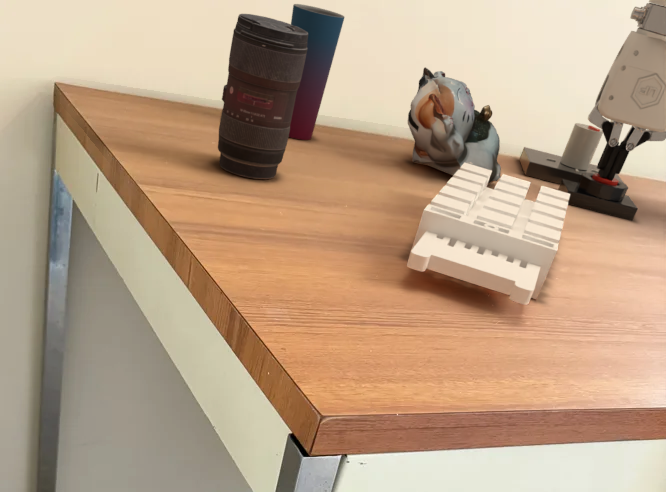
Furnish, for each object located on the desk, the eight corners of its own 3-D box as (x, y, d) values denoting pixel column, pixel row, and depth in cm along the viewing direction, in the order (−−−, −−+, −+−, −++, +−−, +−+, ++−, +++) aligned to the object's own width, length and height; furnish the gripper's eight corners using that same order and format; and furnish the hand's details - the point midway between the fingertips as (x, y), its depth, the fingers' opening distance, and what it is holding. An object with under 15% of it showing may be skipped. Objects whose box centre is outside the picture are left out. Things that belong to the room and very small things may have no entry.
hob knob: (554, 159, 129) (570, 119, 125) (576, 162, 131) (592, 123, 127) (570, 168, 126) (587, 127, 122) (593, 171, 127) (610, 131, 124)
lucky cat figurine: (504, 194, 112) (502, 90, 101) (414, 209, 115) (403, 110, 104) (496, 136, 121) (494, 36, 110) (413, 152, 124) (403, 55, 113)
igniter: (623, 207, 121) (634, 183, 119) (632, 220, 115) (644, 195, 113) (557, 190, 121) (567, 165, 119) (563, 202, 116) (573, 177, 113)
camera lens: (234, 181, 92) (260, 26, 82) (201, 157, 97) (222, 9, 87) (294, 183, 96) (325, 36, 86) (259, 161, 101) (285, 19, 91)
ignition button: (611, 190, 118) (616, 177, 117) (615, 196, 115) (621, 183, 114) (586, 183, 118) (591, 171, 117) (590, 189, 116) (595, 176, 114)
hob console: (608, 182, 134) (615, 168, 132) (620, 200, 125) (627, 185, 124) (519, 159, 134) (524, 145, 133) (524, 175, 125) (530, 160, 124)
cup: (325, 139, 117) (353, 17, 108) (302, 143, 112) (329, 16, 103) (286, 125, 119) (309, 4, 110) (261, 128, 115) (283, 2, 105)
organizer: (570, 193, 98) (551, 275, 71) (553, 234, 101) (529, 327, 74) (464, 162, 100) (406, 229, 73) (451, 202, 103) (390, 282, 76)
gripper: (618, 14, 102) (556, 169, 113) (736, 45, 102) (662, 197, 113) (608, 10, 108) (550, 157, 119) (719, 39, 108) (651, 184, 119)
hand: (605, 176), depth 116 cm, fingers closed
